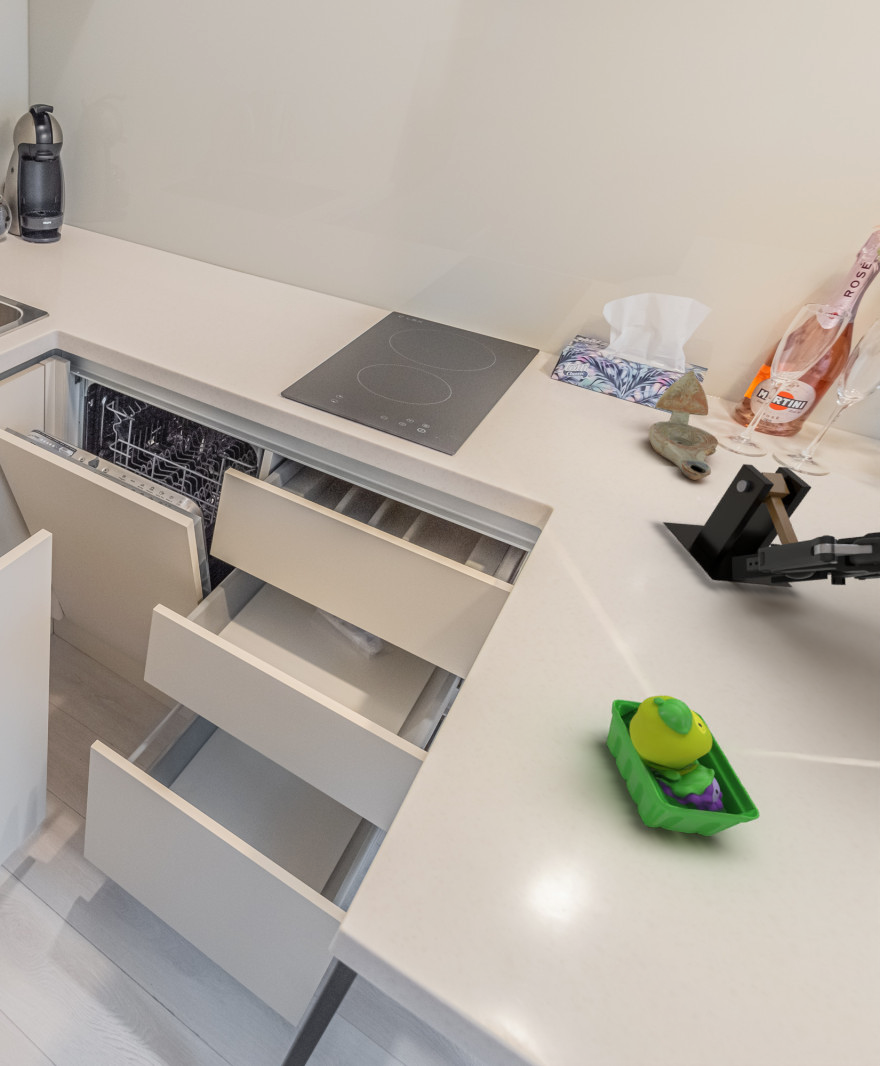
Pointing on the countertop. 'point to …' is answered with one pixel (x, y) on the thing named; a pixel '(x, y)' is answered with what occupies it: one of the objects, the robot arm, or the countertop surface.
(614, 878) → the countertop surface
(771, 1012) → the countertop surface
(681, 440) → the oil lamp
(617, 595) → the countertop surface
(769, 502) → the switch lever
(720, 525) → the switch bracket
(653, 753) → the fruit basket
